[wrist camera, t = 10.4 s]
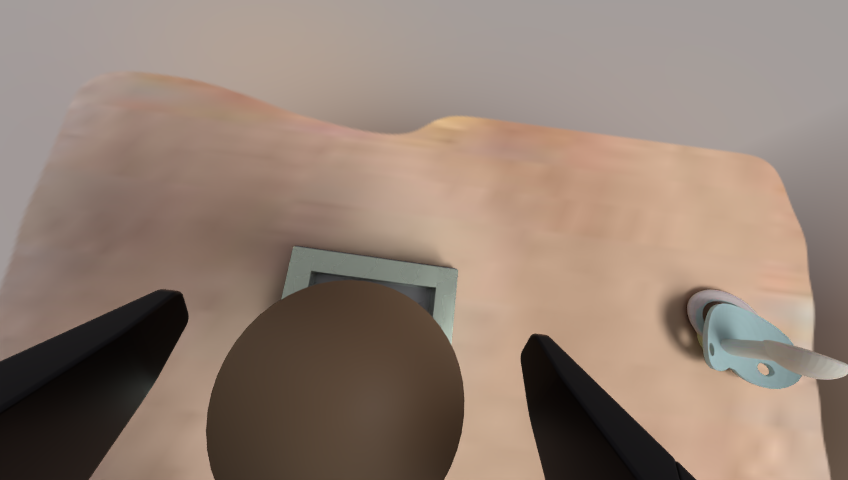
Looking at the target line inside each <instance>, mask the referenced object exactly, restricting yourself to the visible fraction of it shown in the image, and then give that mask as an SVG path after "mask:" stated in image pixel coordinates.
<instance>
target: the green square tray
mask: <svg viewBox="0 0 848 480" xmlns="http://www.w3.org/2000/svg"><path fill="white" fill-rule="evenodd" d="M457 277H458V270H457V269H455V268H448V267H441V266H434V265H427V264H420V263H413V262H406V261H399V260H392V259H385V258H378V257H371V256H364V255H357V254H350V253H343V252H336V251H329V250H322V249H315V248H308V247H301V246H293V250H292V254H291V259H290V263H289V267H288V272H287V276H286V281H285V285H284V290H283V294H282V298H281V299H283V298H285V297H286V296H288V295H290V294H292V293H295V292H297V291H299V290H301V289H304V288H307V287H310V286H313V285H316V284H320V283H325V282H331V281H341V280H356V281H367V282H372V283H376V284H381V285H383V286H386V287H389V288H392V289H394V290H396V291H398V292H400V293H402V294H404V295H406V296H408V297H409V298H411V299H412V300H414V301H415V302H417V303H418V304H419V305H420V306H422V307H423V308H424V309H425V310H426V311H427V312H428V313H429V314H430V315H431V316H432V317H433V318H434V320H435V321H436V322H437V323H438V324H439V325H440V327H441V328H442V330H443V332H444V333H445V335H446V336H447V338H448V340H449V342H450V344H451V343H452V332H453V321H454V310H455V299H456V288H457Z"/></svg>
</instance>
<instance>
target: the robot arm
mask: <svg viewBox="0 0 848 480" xmlns="http://www.w3.org/2000/svg"><path fill="white" fill-rule="evenodd" d="M187 322H188V311H187V308H186V304H185V301H184V297H183V294H182V293H181V292H179V291H175V290H166V289H160V290H157V291H155V292H152V293H150V294H148V295H146V296H144V297H141V298H139V299H137V300H135V301H133V302H130V303H128V304H126V305H124V306H122V307H119V308H117V309H115V310H113V311H111V312H108V313H106V314H104V315H102V316H100V317H97V318H95V319H93V320H91V321H89V322H86V323H84V324H82V325H80V326H78V327H75V328H73V329H71V330H69V331H67V332H64V333H62V334H60V335H58V336H56V337H53V338H51V339H49V340H47V341H45V342H42V343H40V344H38V345H36V346H34V347H31V348H29V349H27V350H25V351H22V352H20V353H18V354H16V355H14V356H11V357H9V358H7V359H5V360H3V361H0V480H89V478H90V477H91V476H92V474H93V473H94V471H95V470H96V468H97V467H98V465H99V464H100V462H101V461H102V460H103V458H104V457H105V455H106V454H107V452H108V451H109V449H110V448H111V446H112V445H113V443H114V442H115V441H116V439H117V438H118V436H119V435H120V433H121V432H122V430H123V429H124V427H125V426H126V425H127V423H128V422H129V420H130V419H131V417H132V416H133V414H134V413H135V411H136V410H137V408H138V407H139V406H140V404H141V403H142V401H143V400H144V398H145V397H146V395H147V394H148V392H149V391H150V389H151V388H152V386H153V385H154V383H155V381H156V379H157V378H158V376H159V374H160V373H161V371H162V369H163V367H164V365H165V363H166V362H167V360H168V358H169V356H170V354H171V352H172V351H173V349H174V347H175V345H176V343H177V341H178V340H179V338H180V336H181V334H182V332H183V331H184V329H185V327H186V325H187ZM521 366H522V372H523V379H524V386H525V392H526V399H527V405H528V411H529V417H530V421H531V425H532V429H533V433H534V437H535V441H536V445H537V449H538V453H539V457H540V460H541V464H542V468H543V472H544V476H545V480H696V479H695V478H694V477H693V476H692V475H691V474H690V473H689V472H688V471H687V470H686V469H685V468H684V467H683V466H682V465H681V464H680V463H679V462H677V461H675V459H674V458H673V457H672V456H671V455H670V454H669V453H668V452H667V451H666V450H665V449H664V448H663V447H662V446H661V445H660V444H659V443H658V442H657V441H656V440H655V439H654V438H653V437H652V436H651V435H650V434H649V433H648V432H647V431H646V430H645V429H644V428H643V427H642V426H640V425H639V424H638V423H637V422H636V421H635V420H634V419H633V418H632V417H631V416H630V415H629V414H628V413H627V412H626V411H625V410H624V409H623V408H622V407H621V406H620V405H619V404H618V403H617V402H616V401H615V400H614V399H613V398H612V397H611V396H610V395H609V394H608V393H607V392H606V391H605V390H604V389H602V388H601V387H600V386H599V385H598V384H597V383H596V382H595V381H594V380H593V379H592V378H591V377H590V376H589V375H588V374H587V373H586V372H585V371H584V370H583V369H582V368H581V367H580V366H579V365H578V364H577V363H576V362H575V361H574V360H573V359H572V358H571V357H570V356H569V355H568V354H567V353H566V352H564V351H563V350H562V349H561V348H560V347H559V346H558V345H557V344H556V343H555V342H554V341H553V340H552V339H551V338H550V337H549V336H547V335H542V334H532V335H531V336H530V338H529V340H528V342H527V343H526V345H525V347H524V349H523V351H522V353H521Z"/></svg>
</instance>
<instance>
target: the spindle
mask: <svg viewBox="0 0 848 480" xmlns="http://www.w3.org/2000/svg"><path fill="white" fill-rule="evenodd" d="M463 419H464V390H463V381H462V376H461V371H460V367H459V364H458V361H457V358H456V355H455V352H454V350H453V348H452V346H451V344H450V342H449V340H448V338H447V336H446V335H445V333H444V332H443V330H442V328H441V327H440V325H439V324H438V323H437V322H436V321H435V320H434V318H433V317H432V316H431V315H430V314H429V313H428V312H427V311H426V310H425V309H424V308H423V307H422V306H420V305H419V304H418V303H417V302H415V301H414V300H412V299H411V298H409V297H408V296H406V295H404V294H402V293H400V292H398V291H396V290H394V289H392V288H389V287H386V286H383V285H381V284H376V283H372V282H367V281H356V280H341V281H331V282H325V283H320V284H316V285H313V286H310V287H307V288H304V289H301V290H299V291H297V292H295V293H292V294H290V295H288V296H286V297H285V298H283V299H281V300H280V301H278V302H277V303H275V304H273V305H272V306H271V307H269V308H268V309H267V310H266V311H264V312H263V313H262V314H260V315H259V316H258V317H257V318H256V319H255V320H254V321H253V322H252V323H251V324H250V325H249V326H248V327H247V328H246V330H245V331H244V332H243V333H242V335H241V336H240V337H239V338H238V339H237V341H236V342H235V344H234V345H233V347H232V348H231V350H230V352H229V353H228V355H227V356H226V358H225V360H224V362H223V364H222V366H221V369H220V371H219V373H218V375H217V378H216V381H215V384H214V387H213V390H212V393H211V398H210V402H209V407H208V413H207V427H206V436H207V451H208V456H209V461H210V466H211V470H212V473H213V476H214V479H215V480H444V479H445V477H446V475H447V473H448V471H449V469H450V467H451V465H452V462H453V459H454V457H455V454H456V452H457V448H458V444H459V441H460V437H461V433H462V426H463Z"/></svg>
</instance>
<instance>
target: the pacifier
mask: <svg viewBox="0 0 848 480" xmlns="http://www.w3.org/2000/svg"><path fill="white" fill-rule="evenodd" d="M712 301H715V302H720V303H723V304H716V305H714V306H712V307H711V308H710V309H709V311H708V313H707V316H706V319H705V322H704V320H703V313H702V312H703V309H704V307H705V306H706V304H708V303H710V302H712ZM687 313H688V317H689V320H690V322H691V324H692V326H693V327H694V329H695V330H696V332H697V338H698V341H699V344H700V345H701V347H702V348H703V353H704V358H705V361H706V363H707V365H708V366H709V367H710V368H712V369H715V370H718V371H724V370H727V369H728V368H730V369H731V370H732V371H733V372H734V373H735V374H737V375H738V376H739V377H741V378H742V379H744V380H746V381H747V382H749V383H752V384H755V385H758V386H761V387H765V388H770V389H781V388H786V387H789V386H791V385H794V384H795V383H796V382H798V381H799V379H800V378H801V376H806V377H810V378H815V379H836V378H841V377H843V376H845V375H846V374H848V365H847V364H845V363H843V362H841V361H838V360H836V359H833V358H831V357H828V356H825V355H822V354H819V353H816V352H813V351H810V350H807V349H803V348H800V347H796V346H794V345H793V343H792V342H791V341H790V339H789V338H788V337H787V336H786V335H785V334H783V333H782V332H781V331H780V330H779V329H778V328H776V327H775V326H774V325H772V324H771V323H769V322H768V321H766V320H765V319H763V318H761V317H759V316H758V314H757V313H756V312H755V311H754V310H753V309H752V308H751V307H750V306H749V305H748V304H747V303H746V302H744V301H743V300H741V299H740V298H738V297H736V296H734V295H732V294H730V293H727V292H723V291H720V290H711V289H708V290H703V291H700V292H698V293H696V294H694V295H693V296H692V297H691V298H690V300H689V302H688V305H687ZM759 363H763V364H764V365H766V366H767V368H768V369H769V374H768V375H766V376H765V375H763V374H761V373H760V372H759V370H758V368H757V365H758V364H759Z"/></svg>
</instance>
